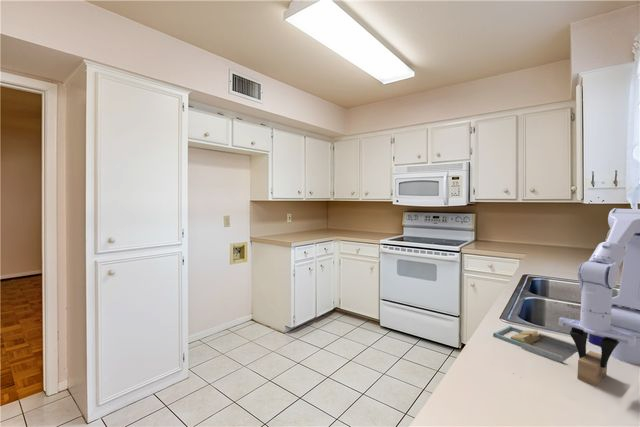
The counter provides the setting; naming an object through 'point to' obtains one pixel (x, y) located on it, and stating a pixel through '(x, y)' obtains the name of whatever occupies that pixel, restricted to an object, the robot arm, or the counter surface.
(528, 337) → the brass chip
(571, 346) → the slot plate
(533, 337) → the brass chip
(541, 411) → the counter surface
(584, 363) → the tan rectangular block
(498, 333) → the tray
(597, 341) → the energy drink
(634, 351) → the robot arm
